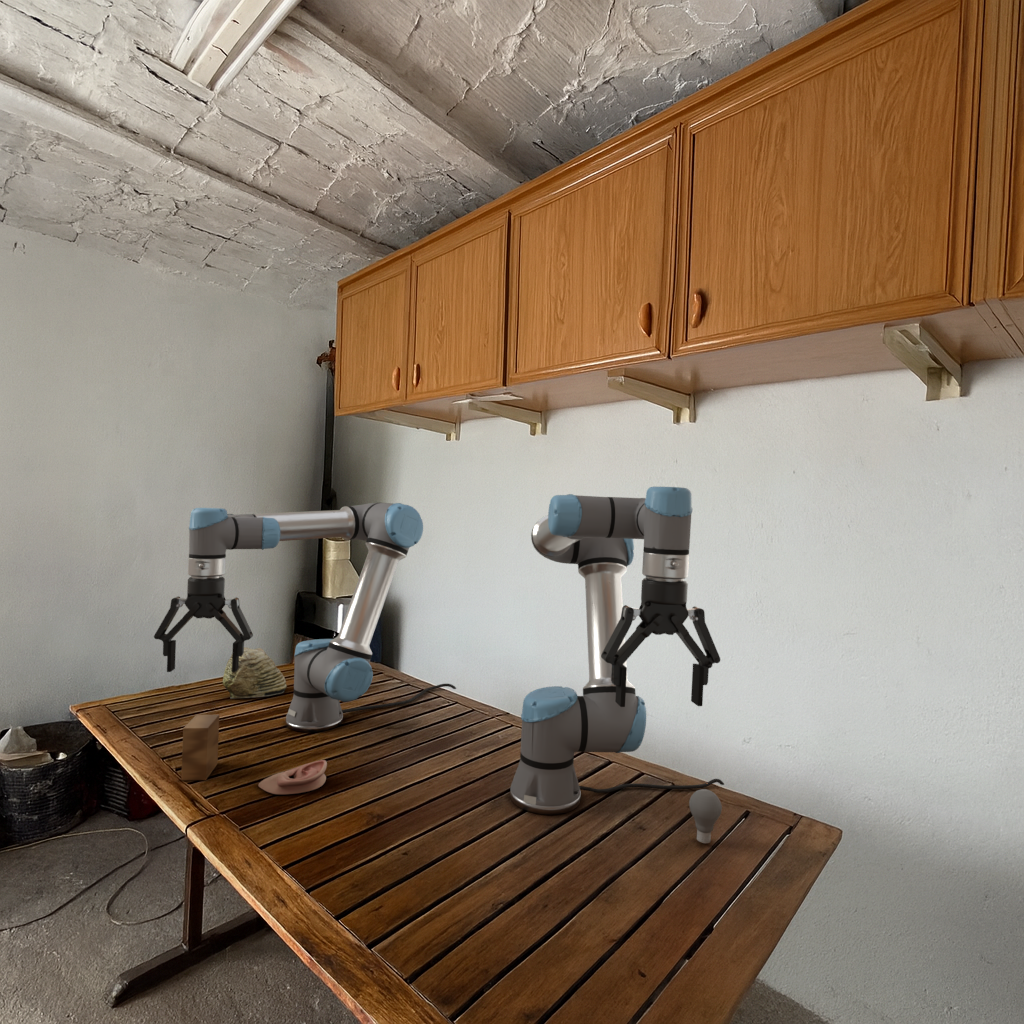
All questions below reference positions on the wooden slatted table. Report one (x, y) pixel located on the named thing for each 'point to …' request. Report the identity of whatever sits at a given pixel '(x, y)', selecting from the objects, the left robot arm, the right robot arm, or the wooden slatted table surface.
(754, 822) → the wooden slatted table surface
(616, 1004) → the wooden slatted table surface
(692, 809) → the light bulb
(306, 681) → the left robot arm
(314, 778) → the anatomical model
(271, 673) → the fossil
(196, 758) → the brick
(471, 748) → the wooden slatted table surface
